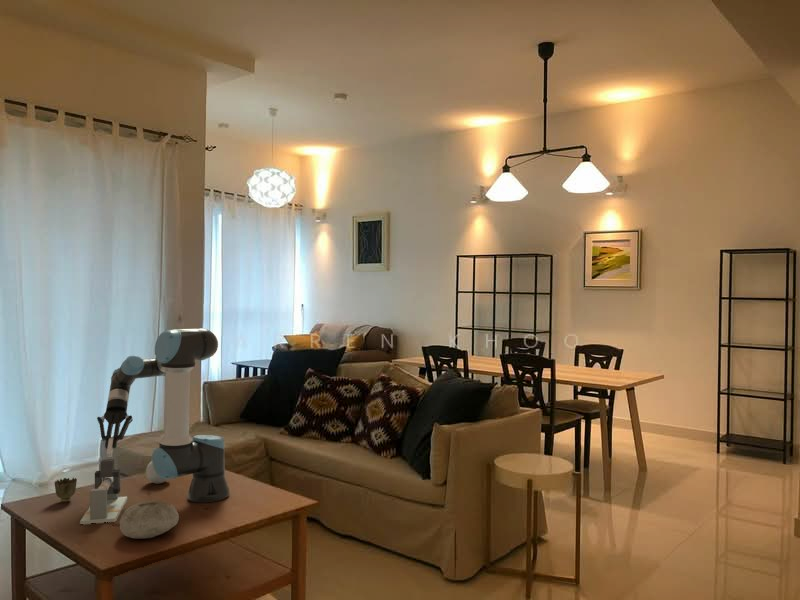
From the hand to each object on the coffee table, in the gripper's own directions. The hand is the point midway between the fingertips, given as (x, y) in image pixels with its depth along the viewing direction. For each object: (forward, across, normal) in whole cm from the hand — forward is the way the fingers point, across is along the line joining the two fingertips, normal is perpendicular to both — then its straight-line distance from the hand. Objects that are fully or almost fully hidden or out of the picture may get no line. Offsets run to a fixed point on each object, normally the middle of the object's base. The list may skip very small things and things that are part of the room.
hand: (109, 455), depth 239 cm
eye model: (-1, -15, -26) cm, 30 cm away
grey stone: (+39, -19, +15) cm, 46 cm away
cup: (+10, +16, -14) cm, 23 cm away
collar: (+14, -1, -4) cm, 14 cm away
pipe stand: (+21, -1, -4) cm, 21 cm away
